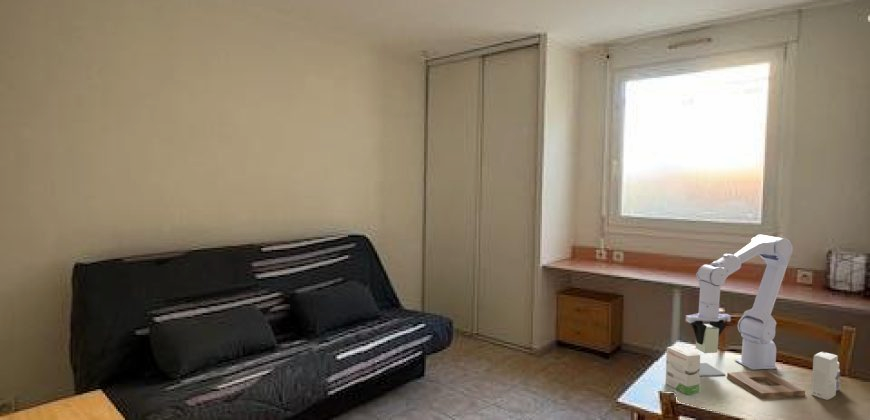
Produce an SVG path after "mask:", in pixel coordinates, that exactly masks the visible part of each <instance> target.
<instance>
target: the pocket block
mask: <svg viewBox="0 0 870 420" xmlns="http://www.w3.org/2000/svg"><path fill="white" fill-rule="evenodd" d="M726 378H727V379H729V380H730V381H731V382H734V383H735V384H737V385H738V386H741V387H742V388H743V389H745V390H747V391H748V392H750V393H751V394H753V395H755V396H757V397H758V398H760V399H776V398H777V399H778V398H792V397H793V398H795V397H805V396H806V390H805V389H803V388H801V387H799V386H797V385H795V384H793V383H791V382H789V381H788V380H787V379H784V378H782V377H781V376H778V375H776V374H774V373H773V372H771V371H769V370H755V371H754V370H752V371H750V370H749V371H737V372H735V371H733V372H732V371H731V372H727V376H726ZM761 382H762V383H763V382H766V383H768V385H767V386H766V385H762V384H760V383H761ZM769 384H770V385H769Z"/></svg>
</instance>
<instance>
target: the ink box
mask: <svg viewBox="0 0 870 420" xmlns="http://www.w3.org/2000/svg"><path fill="white" fill-rule="evenodd" d="M665 361H666V362H665V366H666V367H665V384H666V385H668V386H670V387H672V388H674V389H675V390H677V391H680V392H681V393H683V394H685V395H687V396H690V395H693V394H698V393H699V392H700V377H699V374H700V363H701V354H699V353H696V352H694V351H692V350H689V349H687V348H685V347H682V346H680V345H676V346H674V345H671V346H667V347H666V359H665Z"/></svg>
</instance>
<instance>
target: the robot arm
mask: <svg viewBox="0 0 870 420" xmlns="http://www.w3.org/2000/svg"><path fill="white" fill-rule="evenodd" d="M793 246H794V245H792V242H791V241H790V239H788V238H786V237H779V236H771V235H767V234H763V233H762V234H761V233H760V234H757V235H756V236H754V237H752V238H751V240H750V242H749V243H748V244H746V245H745V246H744V247H742V248H741V249H739V250H738V251H737V252H735V253H734V254H733V253H724V254H722V257H720V258H718V259H717V260H714V261H713V262H711V263H710V264H703V265H701V266H700V267H699V268H698V270H697V272H696V278H697V280H698V286H699V297H698V298H699V301H698V313H694V314H689V315H685V322H687V323H688V324H690V325H691V327H692V330H693V333H694V336H695V342H696V341H697V343H699V344H703V339H704V332H705V329H706V327H707V326H706V325H704V324H705V323H704V322H709V324H711V325H713V326H715V327H717V328H719V337H718V340H719V338H720V336H721V334H722V333H723V331H724V329H725V328H726V327H727V323H726V322H731V321H732V320H731V318H732V315H730V314H728V313H720V298H721V285H724V283H725V282H726V279H727V278H728V276H730V275H732V274H733V273H736V272H737V271H738V270H740V269H741V268H742V264H743V263H745V262H747V261H748V260H751V259H753V258H755V257H757V256H759V257H760V258H761V259H762V260H763V261H764V262H765V264H766V266H765V267H766V268H765V270H764V272H763V275H762V278H761V281H760V285H759V287H758V290H757V292H756V293H757V294H756V296H755V299H754V302H753V305H752V308H750V309H747V310H745V311H744V312H743V314H742V317H740V319H739V320H738V322H737V330H738V332H739V333H740V336H741V337H742V343H741V345H742V346H741V358H734V361H736V363H739V364H741V365H742V366H744V367H745V368H748V369H750V370H752V371H754V370H755V371H758V370H769V369H770V370H772V369H773V370H774V369H778V367H777V366H776V361H777V360H776V359H777V346H776V344H775V342H774V341H773V340H774V339H775V336H776V326H777V324H778V323H777V321H776V320H775V318H774V317H773V315H772V312H773V310H774V305H775V303H776V300H777V298H778V294H779V291H780V288H781V286H782V282H783V279H784V276H785V274H786V271H787V268H788V264H789V263H790V259H791V257H792V254H793V250H794V247H793Z"/></svg>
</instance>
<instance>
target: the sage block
mask: <svg viewBox="0 0 870 420" xmlns="http://www.w3.org/2000/svg"><path fill="white" fill-rule="evenodd" d="M703 324H704V325H706V326H707V327H706V329H705V332H704V339H703V344H699V343H697V341H696V340H695V349H696V350H698V351H700V352H701V353H704V354H713V353H714V354H715V353H716V354H717V353H718V350H719V349H718V348H719V339H718V337H719V338H720V336H719V328H717V327H715V326H713V325H711V324H710V323H703Z"/></svg>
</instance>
